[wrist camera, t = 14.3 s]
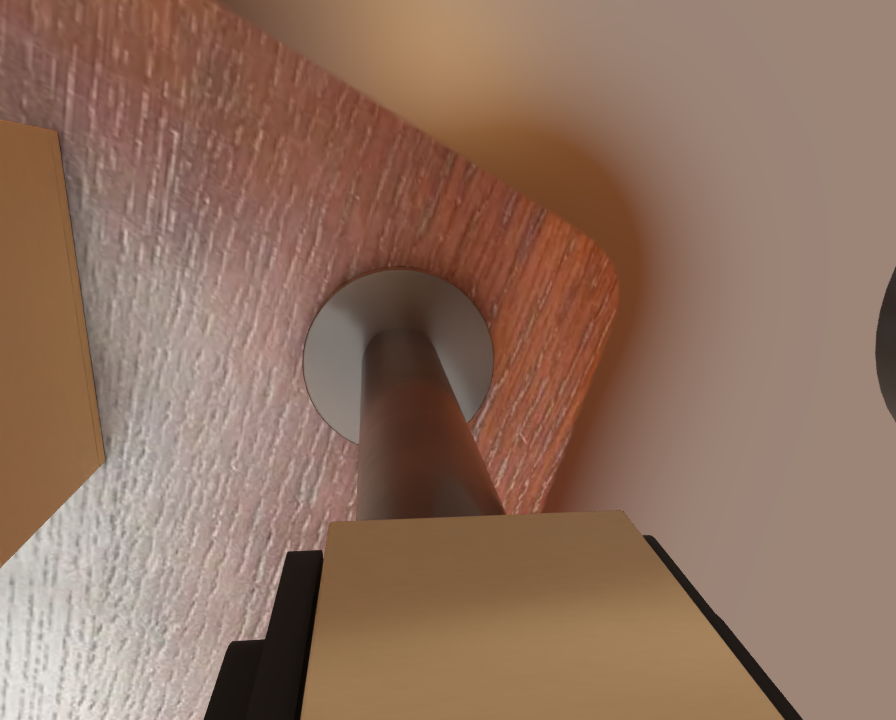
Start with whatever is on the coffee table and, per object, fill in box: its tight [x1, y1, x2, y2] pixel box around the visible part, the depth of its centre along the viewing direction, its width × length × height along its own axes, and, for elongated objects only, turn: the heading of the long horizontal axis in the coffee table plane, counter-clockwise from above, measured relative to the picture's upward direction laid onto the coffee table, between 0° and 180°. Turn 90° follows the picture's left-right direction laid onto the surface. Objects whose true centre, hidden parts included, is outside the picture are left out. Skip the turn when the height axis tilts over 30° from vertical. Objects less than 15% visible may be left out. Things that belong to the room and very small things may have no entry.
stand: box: [302, 266, 506, 521], centre depth 18 cm, size 8×8×16 cm
